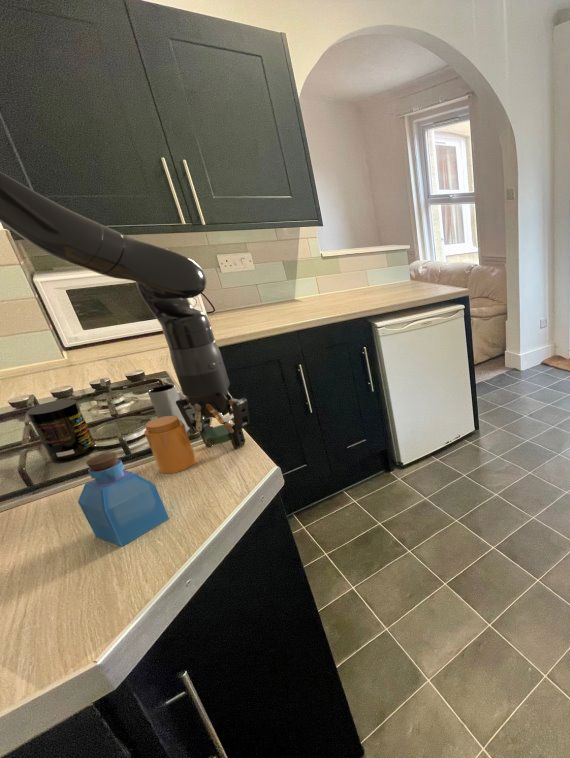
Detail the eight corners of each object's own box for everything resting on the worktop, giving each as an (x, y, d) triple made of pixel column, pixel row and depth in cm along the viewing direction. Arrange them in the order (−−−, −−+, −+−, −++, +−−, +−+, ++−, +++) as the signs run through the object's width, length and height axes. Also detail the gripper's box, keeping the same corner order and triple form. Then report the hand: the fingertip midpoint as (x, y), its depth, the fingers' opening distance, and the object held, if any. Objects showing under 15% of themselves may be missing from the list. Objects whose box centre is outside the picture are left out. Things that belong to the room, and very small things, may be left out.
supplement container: (100, 442, 87) (79, 396, 84) (95, 455, 82) (73, 407, 78) (55, 452, 84) (31, 405, 80) (47, 467, 79) (21, 417, 75)
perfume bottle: (122, 546, 59) (87, 474, 54) (95, 536, 61) (60, 466, 56) (169, 518, 64) (140, 450, 60) (143, 510, 66) (113, 444, 62)
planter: (169, 438, 88) (152, 393, 84) (160, 433, 90) (143, 389, 86) (193, 430, 91) (178, 386, 88) (185, 425, 94) (169, 382, 90)
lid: (233, 427, 88) (231, 421, 87) (244, 435, 84) (242, 428, 84) (201, 438, 83) (199, 432, 83) (211, 447, 80) (209, 440, 79)
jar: (153, 475, 75) (134, 430, 72) (168, 459, 80) (151, 416, 77) (189, 470, 76) (172, 425, 73) (201, 455, 81) (186, 412, 78)
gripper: (248, 361, 81) (270, 438, 87) (184, 360, 83) (210, 435, 89) (217, 375, 74) (243, 457, 80) (148, 373, 76) (178, 453, 82)
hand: (225, 445), depth 85 cm, fingers closed on lid, 5 cm apart
